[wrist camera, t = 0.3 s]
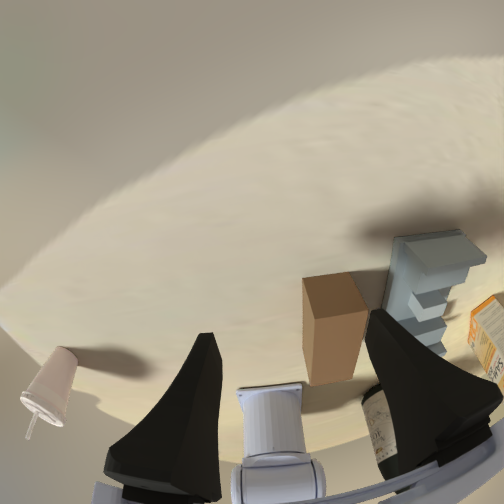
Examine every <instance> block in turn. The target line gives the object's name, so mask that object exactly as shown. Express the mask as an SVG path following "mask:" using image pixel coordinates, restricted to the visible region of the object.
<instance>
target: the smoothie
mask: <svg viewBox="0 0 504 504" xmlns="http://www.w3.org/2000/svg"><path fill="white" fill-rule="evenodd" d="M77 365H78V359H77V358H76V356H75V355H74V354H73V353H72V352H70V351H69V350H67V349H66V348H63V347H56V348H55V350H54V351H53V353H52V354H51V355H50V357H49V358H48V359H47V361H46V362H45V364H44V365H43V366H42V368H41V369H40V371H39V372H38V374H37V375H36V377H35V378H34V380H33V381H32V382H31V384H30V386H29V387H28V389H27V390H26V391H23V392H22V395H21V397H20V399H21V401H22V403H23V404H24V405H25V406H26V407H27V408H28V409H29V410H30V411H31V412H33V413H34V415H33V418H32V421H31V423H30V426H29V429H28V431H27V434H26V437H25V438H26V439H28V440H30V437H31V433H32V431H33V428H34V425H35V423H36V420H37V417H40V418H42V419H43V420H45V421H47V422H49V423H51V424H53V425H56V426H59V427H63V426H64V425H65V422H66V421H67V420H66V418H65V413H66V408H67V404H68V399H69V395H70V391H71V387H72V383H73V379H74V376H75V372H76V368H77Z"/></svg>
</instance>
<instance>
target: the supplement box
mask: <svg viewBox="0 0 504 504" xmlns="http://www.w3.org/2000/svg"><path fill="white" fill-rule="evenodd" d="M468 343H469V345H470V346H471V348H472V350H473V351H474V353H475V355H476V356H477V358H478V359H479V361H480V363H481V365H482V366H483V368H484V370H485V372H486V373H487V375H488V377H489V379H490V381H491V382H494V383H497V385H498V387H499V389H500V390H501V392H502V394H503V396H504V308H503V306H502V305H501V304H500V303H499V302H498V300H497V299H496V298H495V297H494V296H492V297H490V298H489V299H488V300H486V301H485V302H484V303H482V304H481V305H480V306H479V307H477V308H476V309H475V310H473V311H472V312H471V323H470V333H469V338H468ZM502 404H503V405H504V398H503V401H502Z"/></svg>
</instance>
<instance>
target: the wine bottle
mask: <svg viewBox="0 0 504 504" xmlns="http://www.w3.org/2000/svg"><path fill="white" fill-rule="evenodd" d="M361 404H362V408H363V412H364V416H365V419H366V423H367V426H368V430H369V433H370V437H371V441H372V444H373V448H374V452H375V456H376V460H377V464H378V467H379V470H380V471H381V474H382V476H383V478H384V479H385V481H387V480H390V479H393V478H395V477H398V476H400V475H399V471H398V457H397V447H396V440H395V434H394V428H393V423H392V419H391V414H390V410H389V406H388V403H387V400H386V397H385V394H384V391H383V389H382V386H381V384H380V385H378V386H376V387H375V388H373V389H372V390H370V391H369V392H368V393H367V394H366V395H365V396H364V398H363V400H362V403H361ZM412 485H413V484H412ZM412 485H410V486H407V487H405V488H402V489H400V490H397V491H394V492H395V493H396V494H400V493H402V492H405V491H407V490H410V487H411V486H412Z"/></svg>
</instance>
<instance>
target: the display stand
mask: <svg viewBox="0 0 504 504" xmlns="http://www.w3.org/2000/svg"><path fill="white" fill-rule="evenodd" d="M486 258H487V255H486V254H484V253H483V252H482V251H481V250H480V249H479V248H478V247H477V246H475V245H474V244H473V243H472V242H471V241H470V240H468V239H467V238H466V234H465V233H464V232H463V231H461V230H460V229H459V230H451V231H443V232H435V233H427V234H419V235H410V236H402V237H394V243H393V250H392V257H391V263H390V268H389V274H388V279H387V284H386V289H385V294H384V298H383V303H382V307H381V309H382V308H383V309H384V310H385V311H386V312H388V313H389V314H390V315H391V316H392V317H393V318H394V319H395V320H396V321H397V322H398V323H399V324H401V325H402V326H403V327H404V328H405V329H406V330H407V331H408V332H409V333H411V334H412V335H413V336H414V337H415V338H416V339H418V340H419V341H420V342H421V343H422V344H424V345H425V346H426V347H428V348H429V349H430V350H431V351H433V352H434V353H436V354H437V355H439V356H440V357H442V356H444V355H445V354H446V352H447V351H446V349H445V347H444V345H443V344H442V342H441V338H442V336H443V334H444V332H445V330H446V328H447V325H446V324H445V322H444V321H443V319H442V318H441V316H442V315H443V313H444V311H445V308H446V306H447V303H448V302H447V301H446V300H447V297H448V294H449V291H450V289H451V286H453V285H457V284H461V283H464V282H465V280H466V277H467V274H468V271H469V268H470V267H472V266H476V265H480V264H484V263H485V262H486Z"/></svg>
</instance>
